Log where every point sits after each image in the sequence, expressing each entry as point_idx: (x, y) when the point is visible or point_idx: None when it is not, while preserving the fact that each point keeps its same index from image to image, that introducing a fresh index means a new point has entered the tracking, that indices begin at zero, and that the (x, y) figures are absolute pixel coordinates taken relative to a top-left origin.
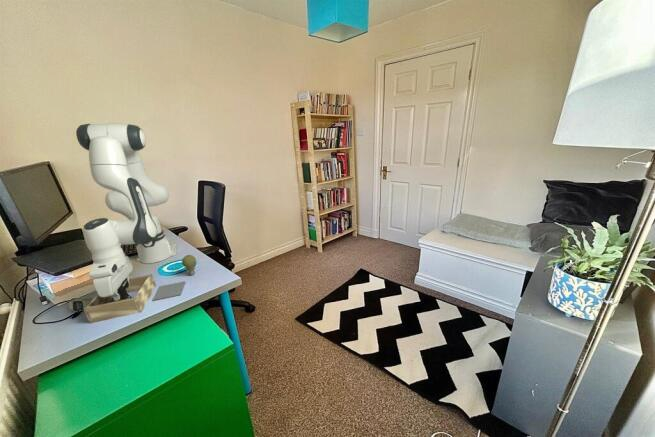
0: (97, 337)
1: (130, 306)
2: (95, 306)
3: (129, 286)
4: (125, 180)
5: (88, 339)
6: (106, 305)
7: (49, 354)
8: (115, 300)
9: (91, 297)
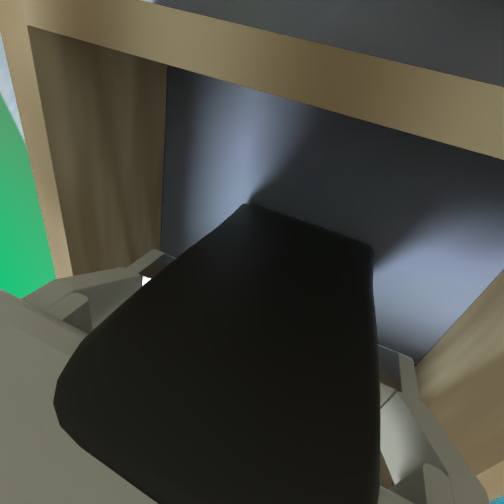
0: (15, 116)
1: None
2: (27, 115)
3: (494, 348)
4: None
5: (5, 67)
6: (48, 207)
7: None
8: (158, 252)
9: None
